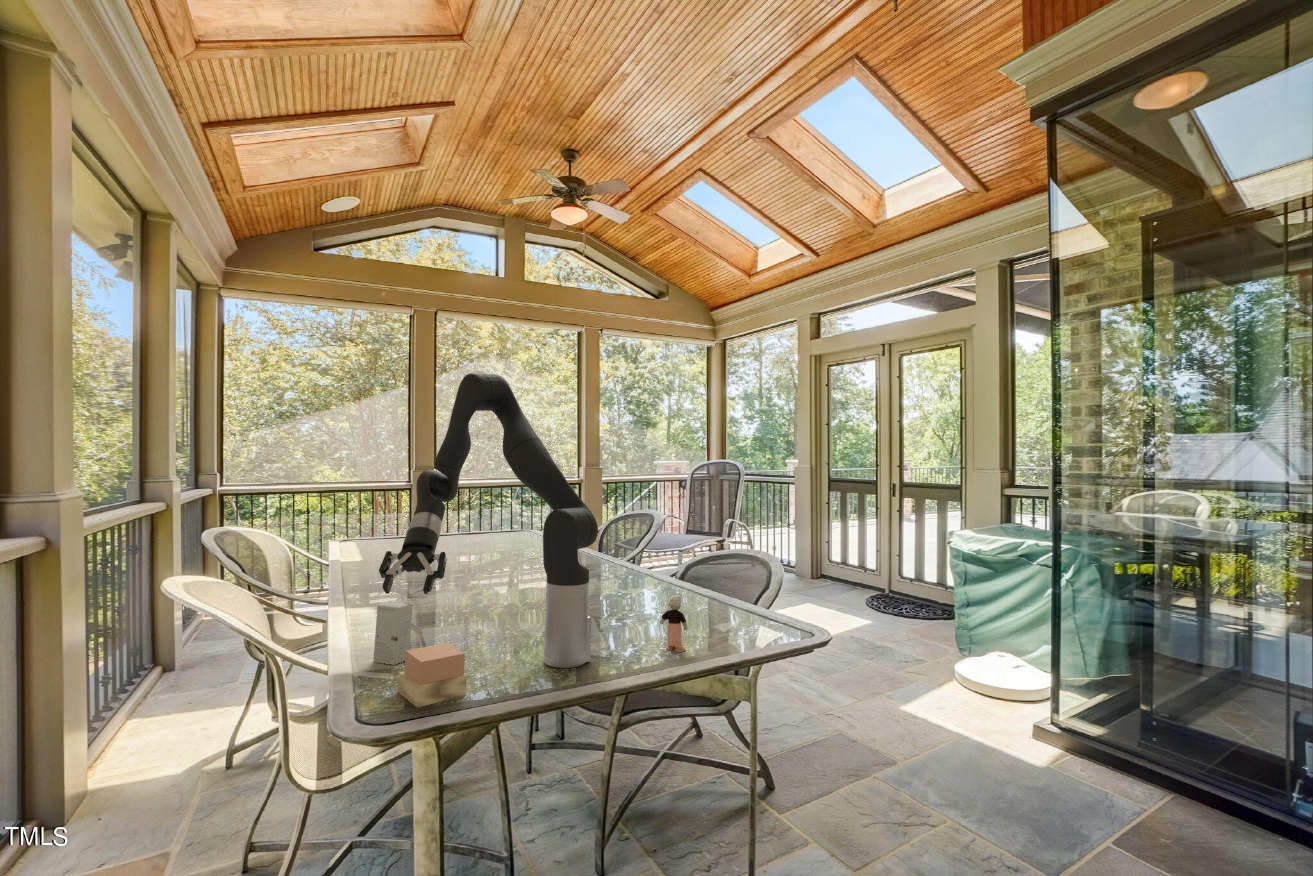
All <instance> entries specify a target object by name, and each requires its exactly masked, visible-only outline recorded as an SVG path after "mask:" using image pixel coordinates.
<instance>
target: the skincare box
mask: <svg viewBox="0 0 1313 876" xmlns="http://www.w3.org/2000/svg"><path fill="white" fill-rule="evenodd" d="M413 605H414V604H413V603H408V602H403V601H395V600H389V601H386V602H382V603H379V604H377V606H376V607H377V608H376V623H375V633H374V634H375V636H374V646H373V647H374V648H373V662H375V663H380V664H384V663H385V664H386V665H390V664H391V665H390V666H397V665H399V664H398V663H400V664H402V663H404V662H403V661H405V651H406V650H410V646H411V645H410V643H411V634H412V633H411V631H412V617H413ZM401 662H402V663H401ZM396 664H397V665H396Z"/></svg>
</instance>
